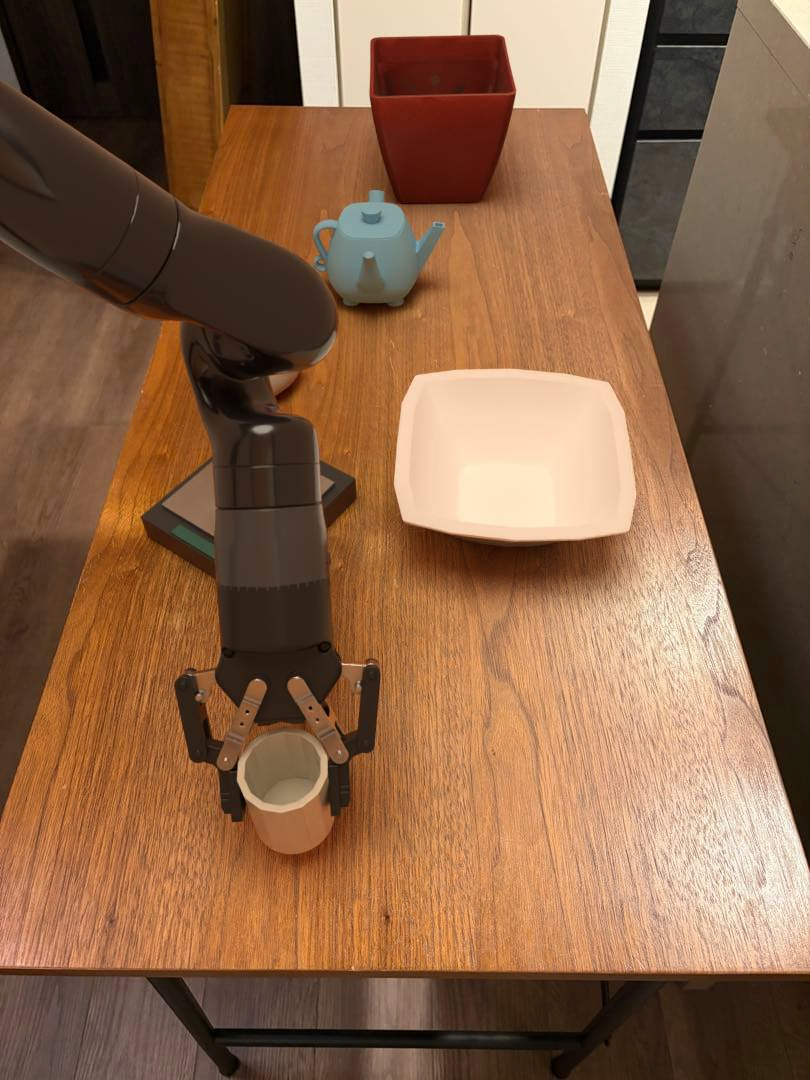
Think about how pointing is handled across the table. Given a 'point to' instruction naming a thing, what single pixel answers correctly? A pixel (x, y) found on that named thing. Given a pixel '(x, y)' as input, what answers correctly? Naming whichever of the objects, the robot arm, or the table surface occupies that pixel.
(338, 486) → the scale
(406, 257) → the teapot
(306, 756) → the cup
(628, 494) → the bowl
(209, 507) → the scale pan
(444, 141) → the flower pot
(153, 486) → the table surface
